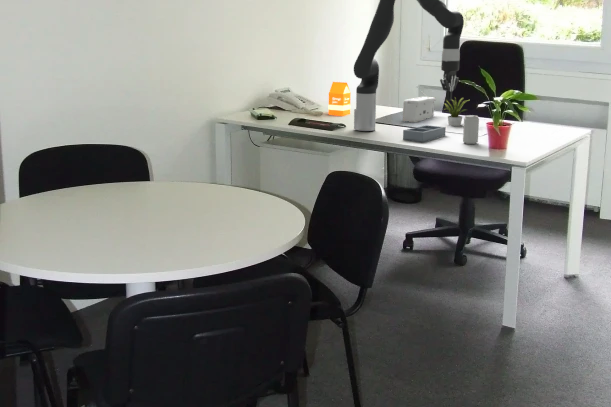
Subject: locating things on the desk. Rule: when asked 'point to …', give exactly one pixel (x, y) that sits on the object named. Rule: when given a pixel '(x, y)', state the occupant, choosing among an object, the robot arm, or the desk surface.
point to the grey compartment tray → (423, 133)
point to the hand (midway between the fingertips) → (448, 100)
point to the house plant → (455, 112)
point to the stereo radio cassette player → (418, 108)
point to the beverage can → (471, 129)
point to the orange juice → (339, 99)
